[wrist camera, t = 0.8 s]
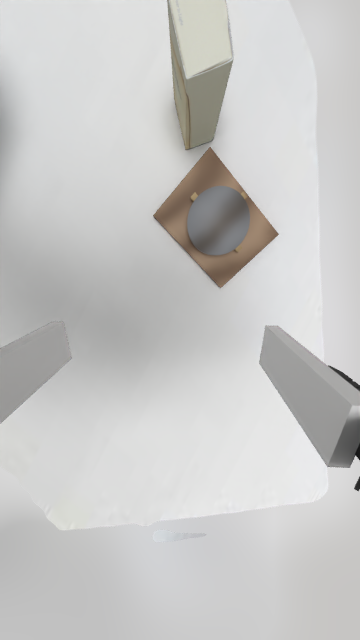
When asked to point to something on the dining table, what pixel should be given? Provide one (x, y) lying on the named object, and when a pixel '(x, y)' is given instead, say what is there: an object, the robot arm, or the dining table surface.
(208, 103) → the skincare box
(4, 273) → the dining table surface
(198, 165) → the bayonet base
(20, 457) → the dining table surface
